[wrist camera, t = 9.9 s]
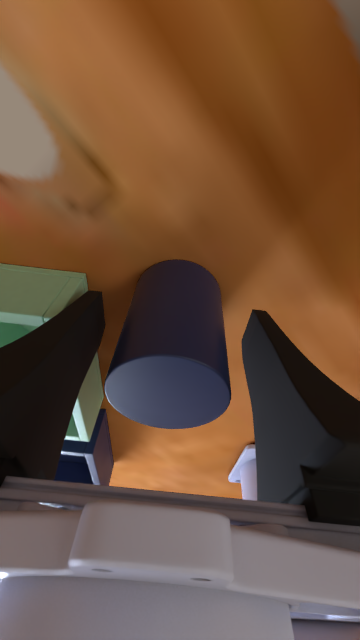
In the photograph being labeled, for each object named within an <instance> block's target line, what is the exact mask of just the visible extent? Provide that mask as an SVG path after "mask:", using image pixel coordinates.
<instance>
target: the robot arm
mask: <svg viewBox="0 0 360 640" xmlns="http://www.w3.org/2000/svg"><path fill="white" fill-rule="evenodd" d="M104 329H105V317H104V308H103V298H102V292H98V291H90V290H88V291H87V292H86V293H84V294H83V295H82V296H81V297H79V298H78V299H77V300H75V301H74V302H73V303H72V304H70V305H69V306H68V307H66V308H65V309H64V310H62V311H61V312H60V313H58V314H57V315H56V316H54V317H53V318H51V319H50V320H48V321H47V322H45V323H44V324H42V325H41V326H39V327H38V328H36V329H35V330H33V331H31V332H30V333H28V334H26V335H24V336H22V337H21V338H19V339H17V340H15V341H13V342H11V343H9V344H7V345H5V346H3V347H1V348H0V640H360V401H358V400H357V399H355V398H354V397H353V396H351V395H350V394H348V393H347V392H346V391H345V390H343V389H342V388H341V387H339V386H338V385H337V384H335V383H334V382H333V381H332V380H330V379H329V378H328V377H327V376H326V375H325V374H323V373H322V372H321V371H320V370H319V369H318V368H317V367H316V366H314V365H313V364H312V363H311V362H310V361H309V360H308V359H307V358H306V357H305V356H304V355H303V354H302V353H301V352H300V351H299V350H298V348H297V347H296V346H295V345H294V344H293V343H292V342H291V341H290V339H289V338H288V337H287V336H286V335H285V334H284V332H283V331H282V330H281V329H280V328H279V326H278V325H277V324H276V323H275V321H274V320H273V319H272V318H271V316H270V315H269V314H268V313H267V312H266V311H262V310H252V313H251V316H250V319H249V321H248V324H247V327H246V330H245V333H244V335H243V338H242V357H243V364H244V369H245V374H246V379H247V384H248V389H249V394H250V399H251V405H252V412H253V423H254V435H255V445H254V444H250V445H247V446H246V447H245V449H244V450H243V452H242V454H241V456H240V457H239V459H238V461H237V462H236V464H235V466H234V468H233V469H232V471H231V473H230V474H229V476H228V480H229V481H230V482H237V483H241V487H242V496H243V499H235V498H225V497H214V496H204V495H194V494H184V493H174V492H164V491H154V490H144V489H134V488H124V487H114V486H104V485H93V484H83V483H73V482H63V481H54V479H55V475H56V471H57V467H58V463H59V459H60V455H61V451H62V447H63V444H64V440H65V437H66V433H67V429H68V426H69V423H70V419H71V416H72V413H73V410H74V406H75V403H76V400H77V397H78V394H79V391H80V389H81V386H82V383H83V381H84V379H85V377H86V374H87V372H88V370H89V368H90V366H91V363H92V361H93V359H94V357H95V354H96V352H97V350H98V347H99V345H100V342H101V339H102V336H103V332H104Z"/></svg>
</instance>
